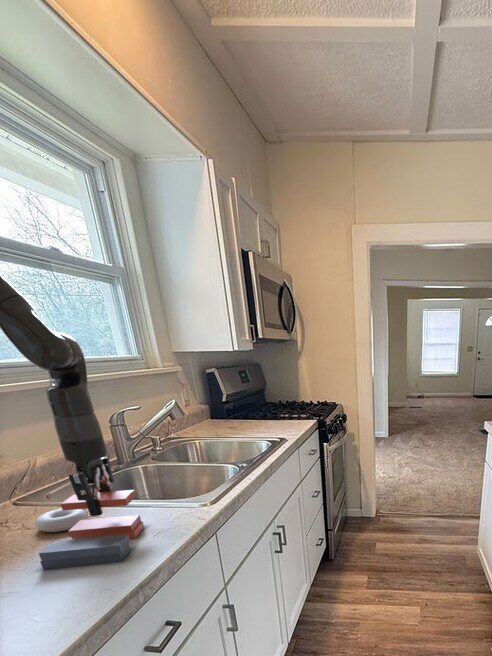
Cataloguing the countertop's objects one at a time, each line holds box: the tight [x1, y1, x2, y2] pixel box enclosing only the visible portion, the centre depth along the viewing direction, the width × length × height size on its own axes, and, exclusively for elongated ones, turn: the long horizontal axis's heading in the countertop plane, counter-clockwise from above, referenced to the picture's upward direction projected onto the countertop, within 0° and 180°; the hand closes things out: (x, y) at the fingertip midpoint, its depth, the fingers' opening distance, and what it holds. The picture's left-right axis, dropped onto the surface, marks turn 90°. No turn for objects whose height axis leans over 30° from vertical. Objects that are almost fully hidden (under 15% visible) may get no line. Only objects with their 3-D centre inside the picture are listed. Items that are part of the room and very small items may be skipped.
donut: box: [35, 508, 88, 533], centre depth 97 cm, size 10×4×10 cm
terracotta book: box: [60, 489, 137, 511], centre depth 90 cm, size 12×6×2 cm, turn 103°
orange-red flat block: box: [67, 514, 145, 540], centre depth 92 cm, size 13×6×3 cm, turn 103°
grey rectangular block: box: [38, 534, 131, 570], centre depth 82 cm, size 14×5×4 cm, turn 103°
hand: (103, 509), depth 90 cm, fingers closed on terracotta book, 6 cm apart
